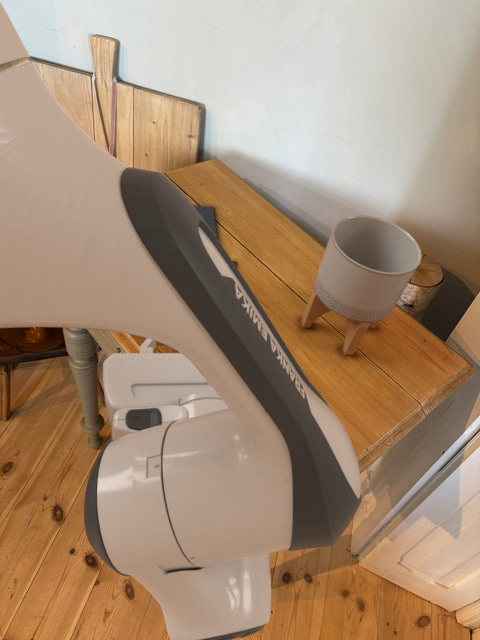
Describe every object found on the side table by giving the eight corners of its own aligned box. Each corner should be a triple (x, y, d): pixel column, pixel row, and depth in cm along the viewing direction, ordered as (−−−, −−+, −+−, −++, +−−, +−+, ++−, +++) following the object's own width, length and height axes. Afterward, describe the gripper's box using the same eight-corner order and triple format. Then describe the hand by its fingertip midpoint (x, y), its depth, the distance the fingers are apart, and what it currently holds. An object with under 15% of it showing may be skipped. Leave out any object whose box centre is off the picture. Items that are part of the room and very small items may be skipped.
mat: (142, 246, 84) (142, 244, 84) (143, 204, 93) (143, 202, 92) (218, 249, 87) (218, 247, 86) (212, 208, 95) (213, 206, 95)
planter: (294, 296, 81) (322, 212, 68) (362, 298, 84) (402, 217, 71) (310, 355, 73) (346, 272, 60) (385, 355, 75) (436, 275, 62)
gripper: (320, 419, 43) (292, 311, 52) (94, 426, 40) (106, 308, 49) (303, 449, 48) (280, 345, 57) (99, 458, 44) (109, 345, 53)
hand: (198, 328), depth 53 cm, fingers open, 8 cm apart
